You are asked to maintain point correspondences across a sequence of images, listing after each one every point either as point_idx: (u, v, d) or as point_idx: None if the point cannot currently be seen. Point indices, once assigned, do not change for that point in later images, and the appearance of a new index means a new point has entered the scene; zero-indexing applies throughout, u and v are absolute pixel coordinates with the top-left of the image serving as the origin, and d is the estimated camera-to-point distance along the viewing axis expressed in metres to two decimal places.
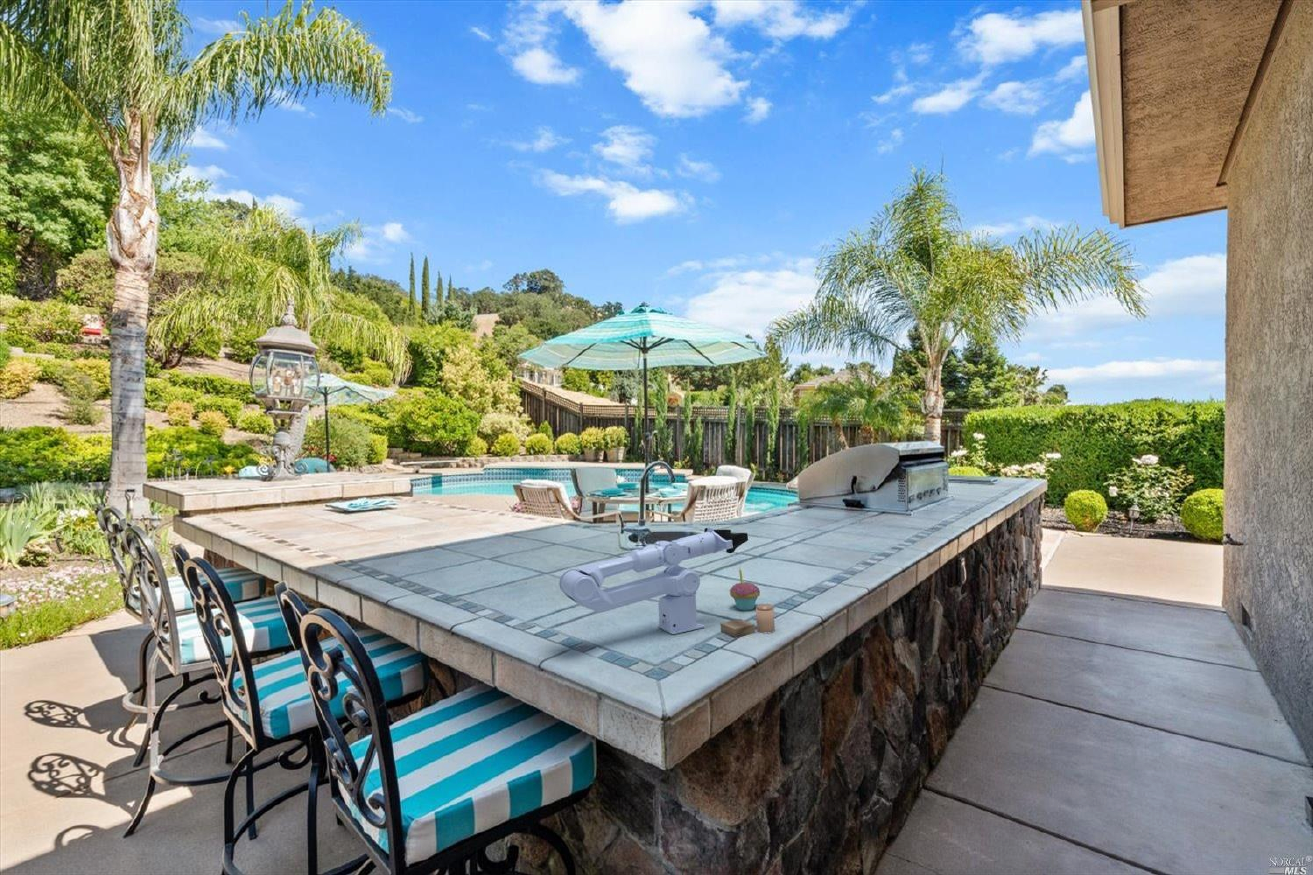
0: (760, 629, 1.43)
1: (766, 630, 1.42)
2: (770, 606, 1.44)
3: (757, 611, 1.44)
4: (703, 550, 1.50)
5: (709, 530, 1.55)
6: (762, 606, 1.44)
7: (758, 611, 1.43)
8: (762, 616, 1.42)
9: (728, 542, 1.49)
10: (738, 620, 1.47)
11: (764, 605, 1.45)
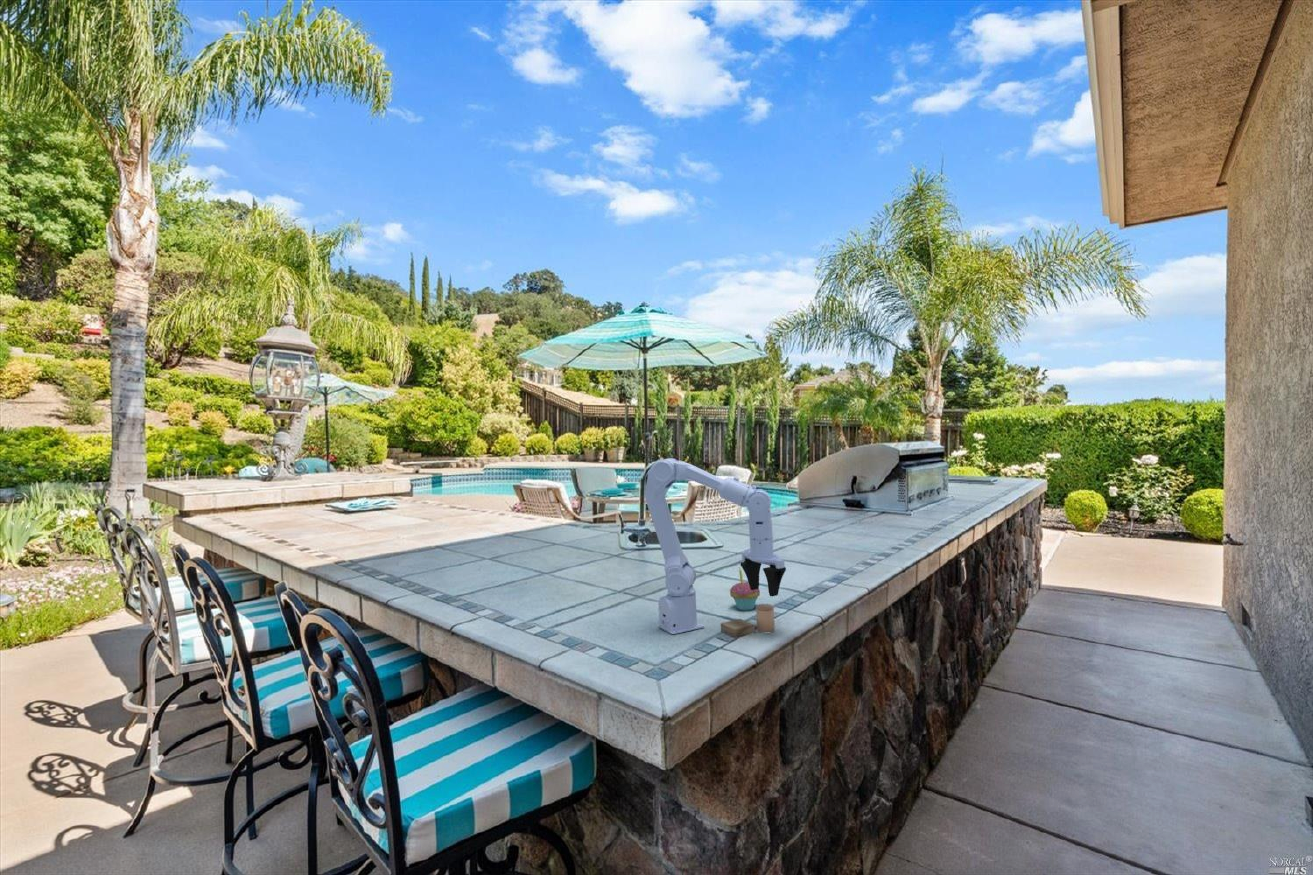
0: (760, 629, 1.43)
1: (766, 630, 1.42)
2: (770, 606, 1.44)
3: (757, 611, 1.44)
4: (764, 540, 1.42)
5: None
6: (762, 606, 1.44)
7: (758, 611, 1.43)
8: (762, 617, 1.42)
9: (783, 562, 1.38)
10: (738, 620, 1.47)
11: (764, 605, 1.45)
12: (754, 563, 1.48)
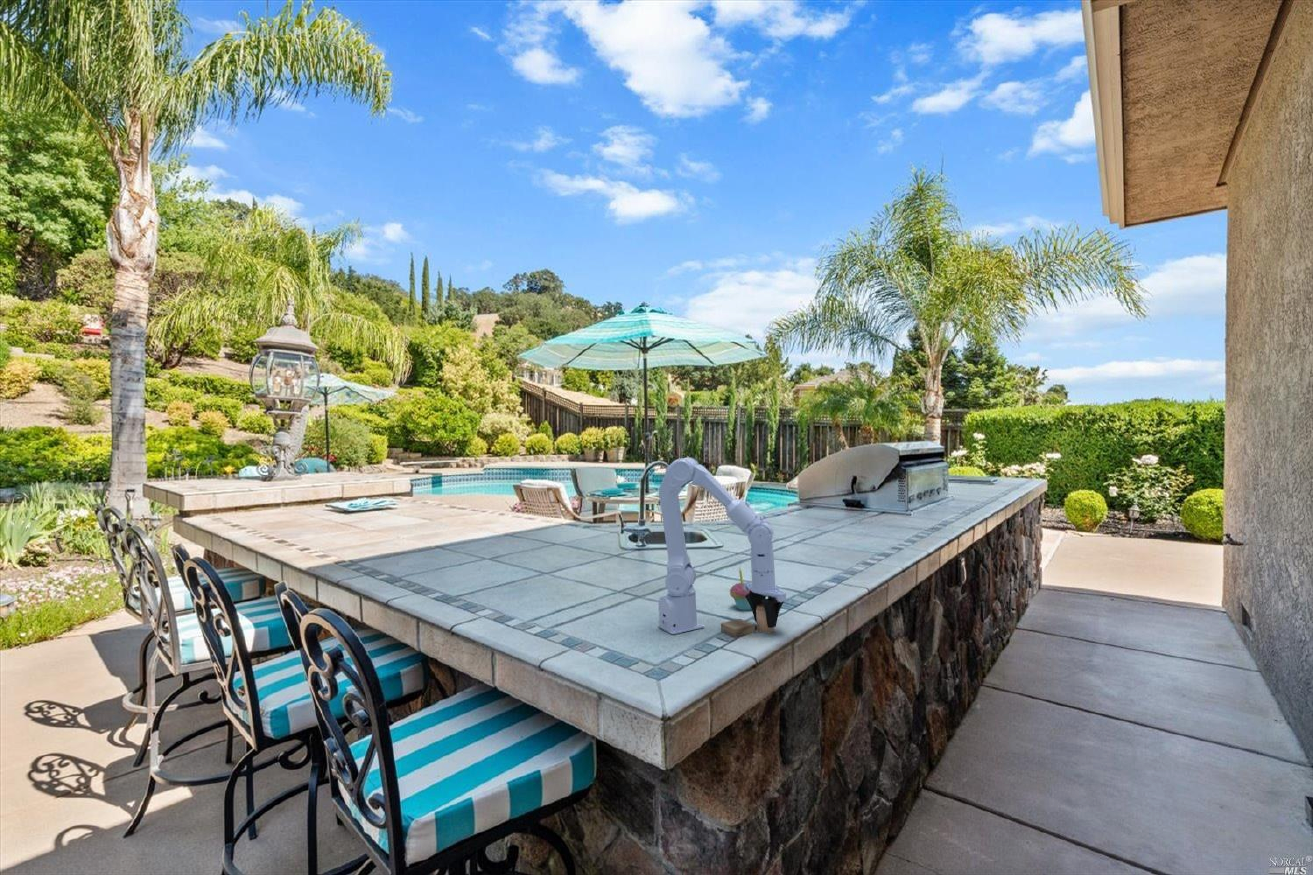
0: (760, 629, 1.43)
1: (766, 630, 1.42)
2: None
3: (757, 611, 1.44)
4: (766, 572, 1.42)
5: None
6: (762, 606, 1.44)
7: (758, 611, 1.43)
8: (762, 616, 1.42)
9: (785, 595, 1.38)
10: (738, 620, 1.47)
11: None
12: (759, 595, 1.47)
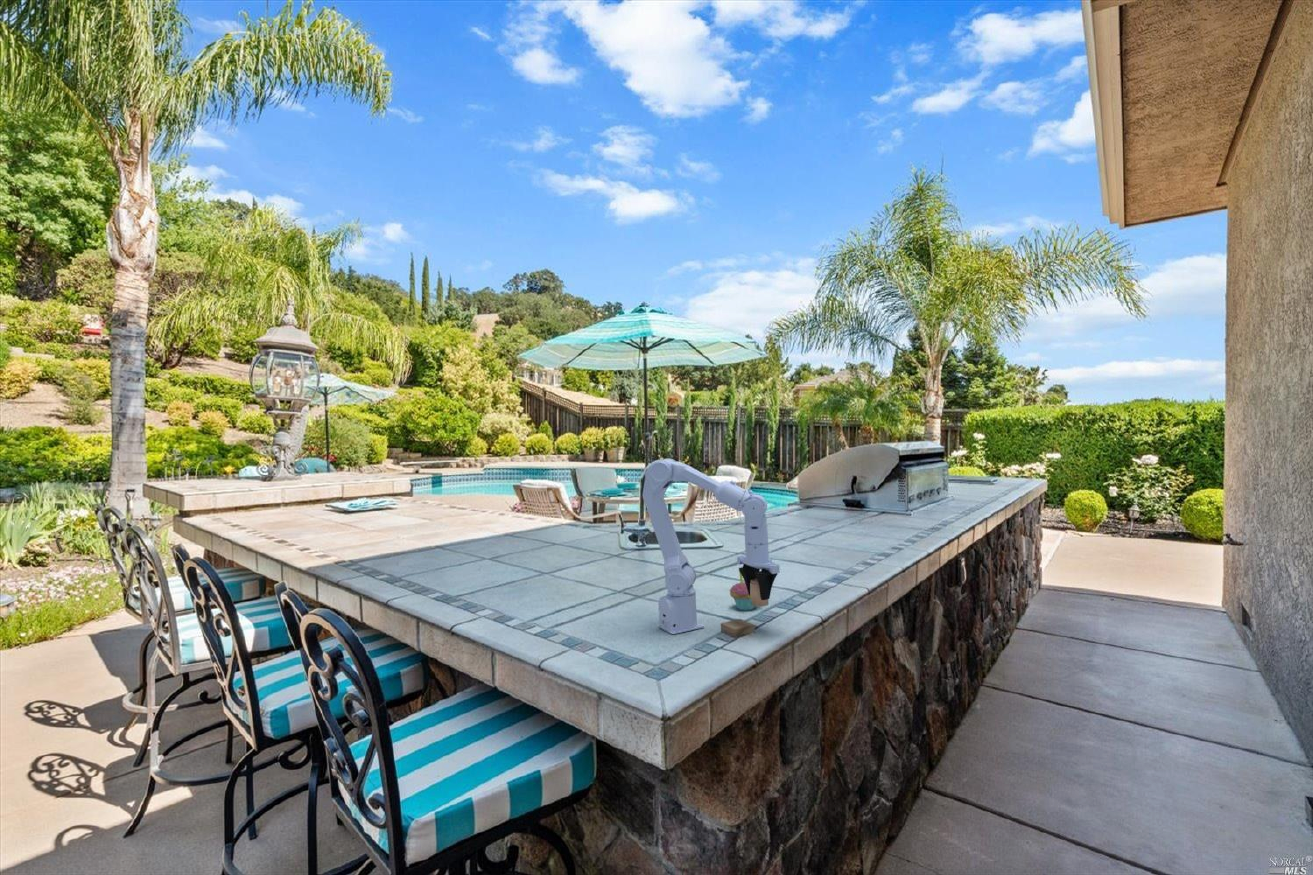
0: (754, 602, 1.43)
1: (760, 604, 1.42)
2: None
3: (751, 585, 1.44)
4: (760, 545, 1.42)
5: None
6: (756, 580, 1.44)
7: (752, 585, 1.43)
8: (755, 590, 1.43)
9: (778, 567, 1.38)
10: (738, 620, 1.47)
11: None
12: (752, 568, 1.47)
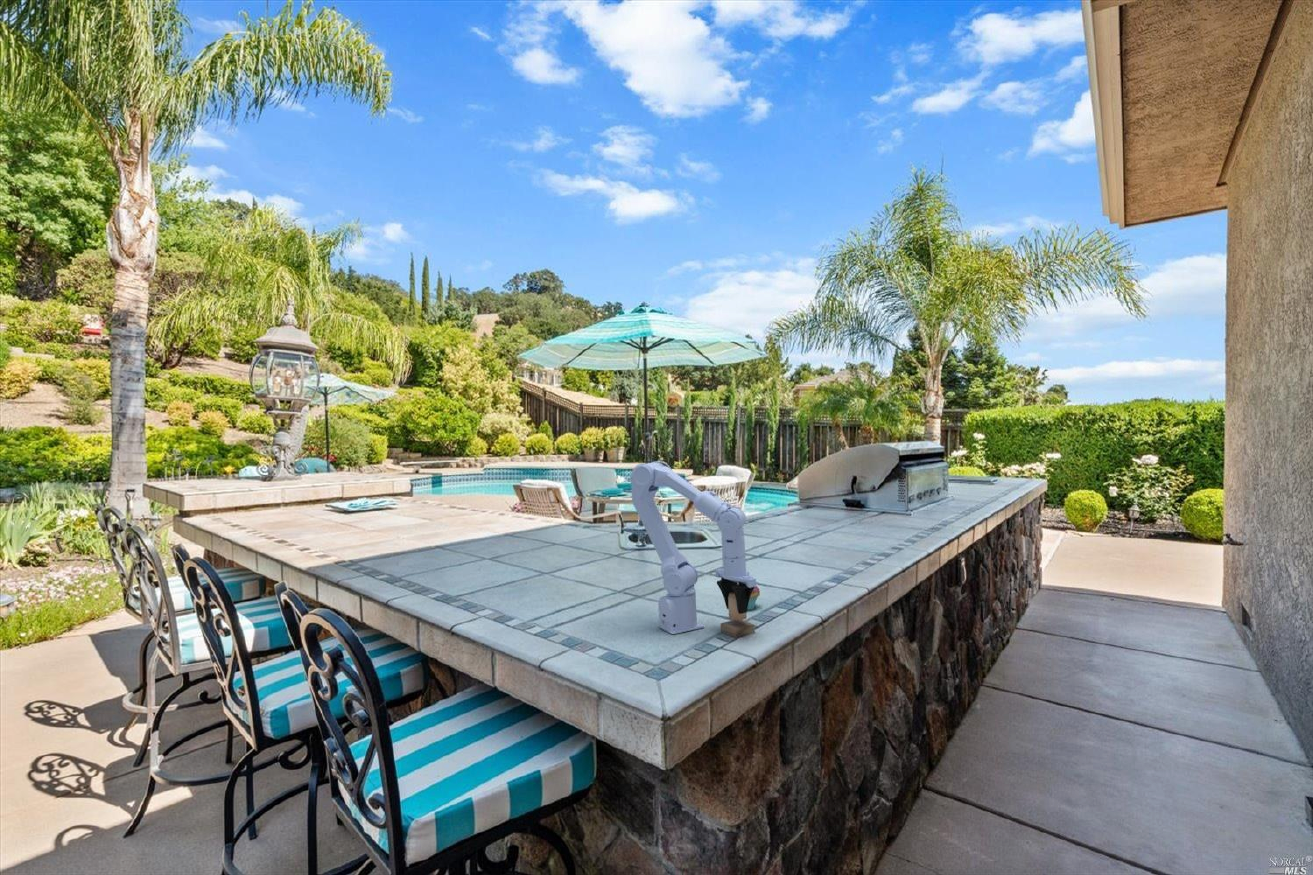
0: (731, 616, 1.43)
1: (737, 617, 1.42)
2: None
3: (729, 598, 1.43)
4: (736, 558, 1.41)
5: None
6: None
7: (730, 598, 1.43)
8: (733, 603, 1.42)
9: (754, 581, 1.38)
10: (738, 620, 1.47)
11: None
12: (730, 582, 1.46)
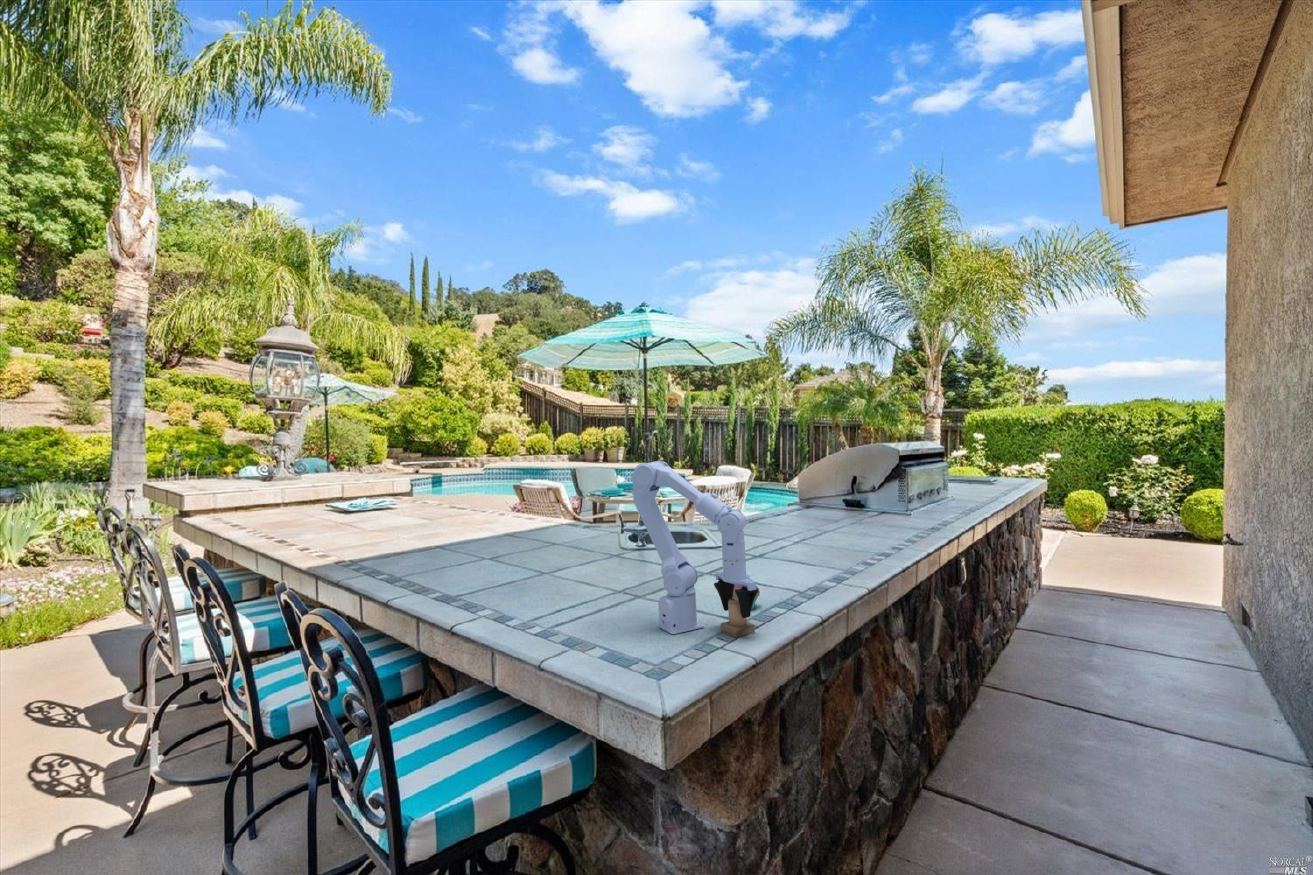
0: (731, 623, 1.43)
1: (737, 624, 1.42)
2: None
3: (729, 604, 1.43)
4: (737, 561, 1.41)
5: None
6: (734, 600, 1.44)
7: (729, 604, 1.43)
8: (733, 610, 1.42)
9: (755, 584, 1.38)
10: None
11: (736, 599, 1.45)
12: (727, 583, 1.47)
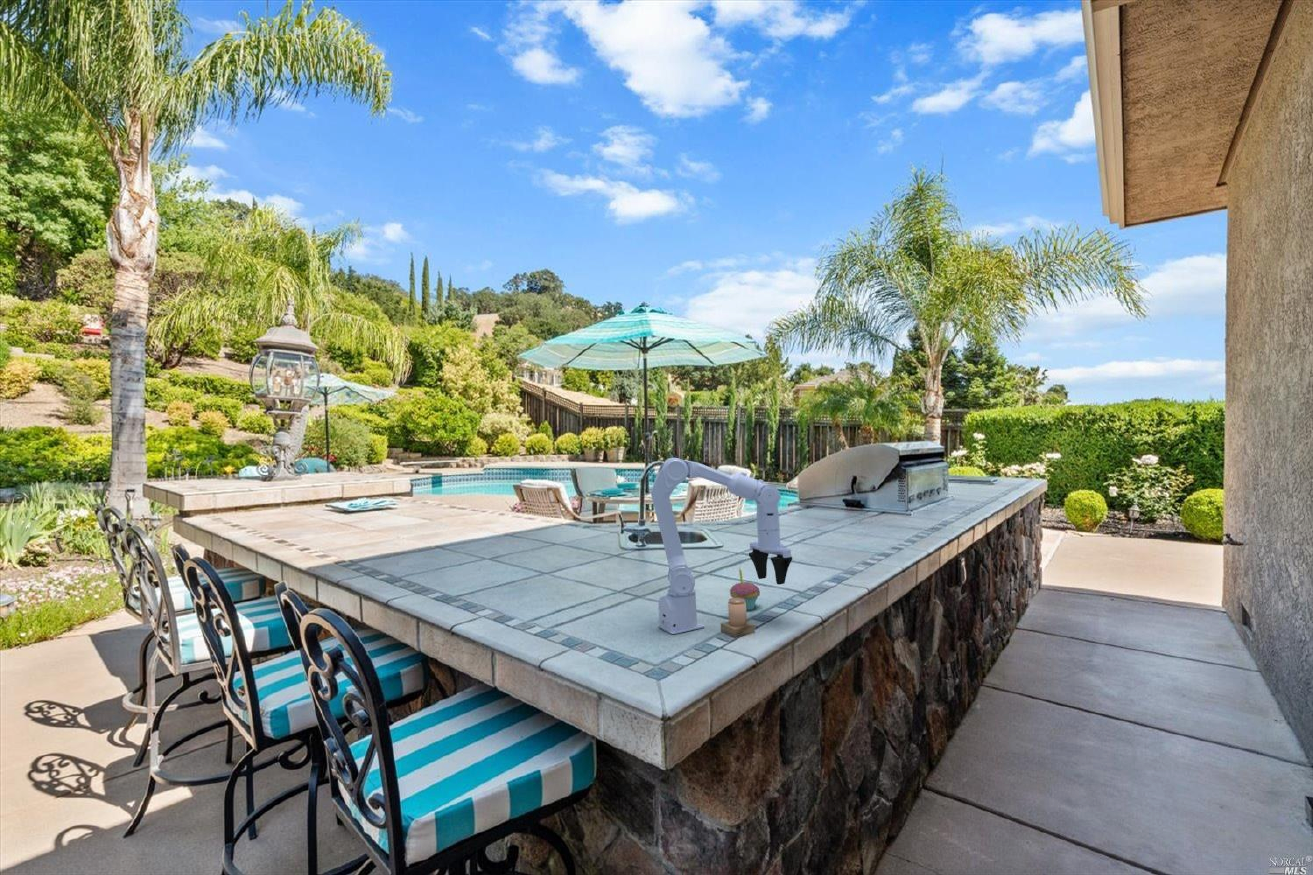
0: (731, 623, 1.43)
1: (737, 624, 1.42)
2: (742, 600, 1.43)
3: (729, 605, 1.43)
4: (772, 531, 1.48)
5: None
6: (734, 600, 1.44)
7: (730, 605, 1.43)
8: (733, 610, 1.42)
9: (790, 552, 1.45)
10: None
11: (736, 599, 1.45)
12: (762, 553, 1.55)
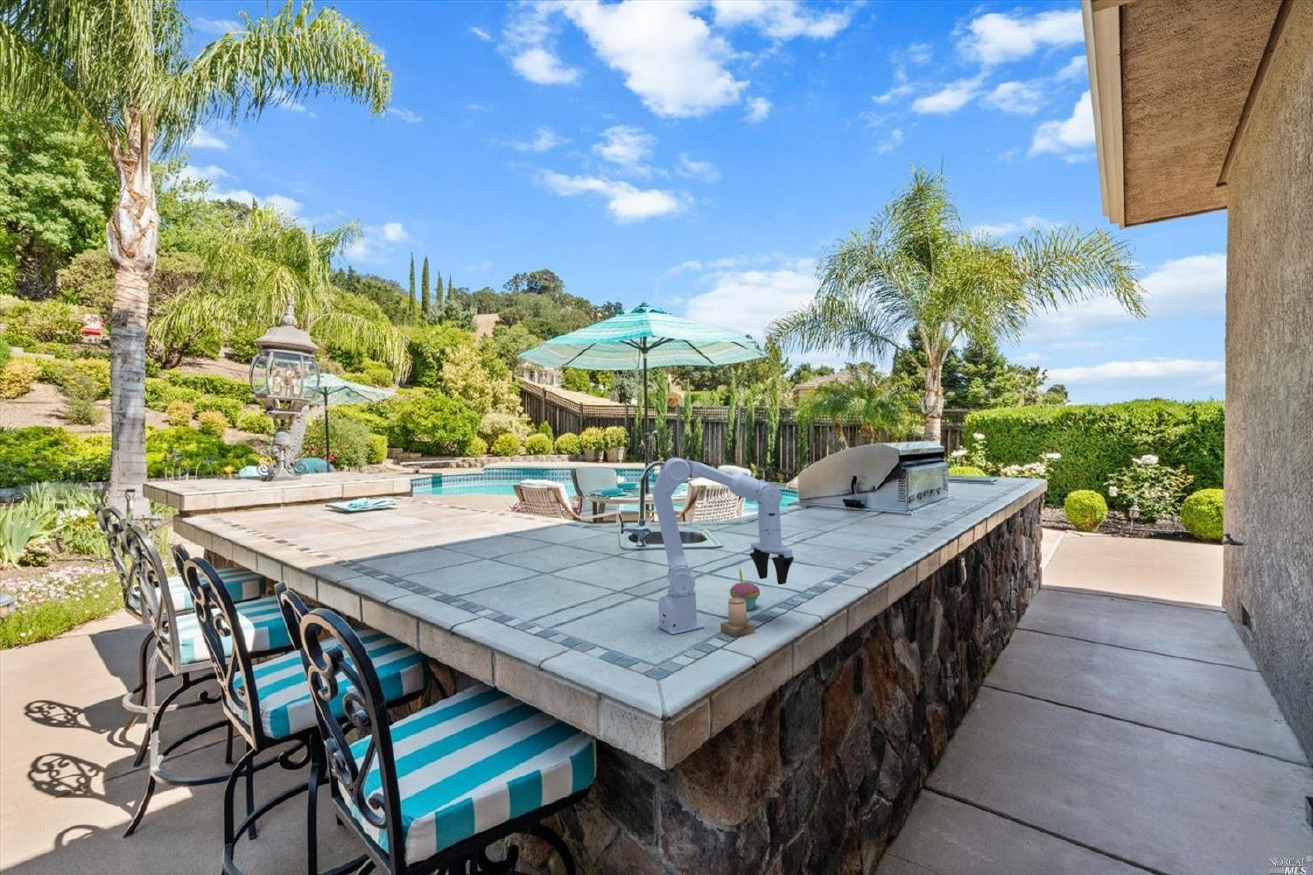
0: (731, 623, 1.43)
1: (737, 624, 1.42)
2: (742, 600, 1.43)
3: (729, 605, 1.43)
4: (773, 531, 1.49)
5: None
6: (734, 600, 1.44)
7: (730, 605, 1.43)
8: (733, 610, 1.42)
9: (791, 552, 1.45)
10: None
11: (736, 599, 1.45)
12: (763, 553, 1.55)
